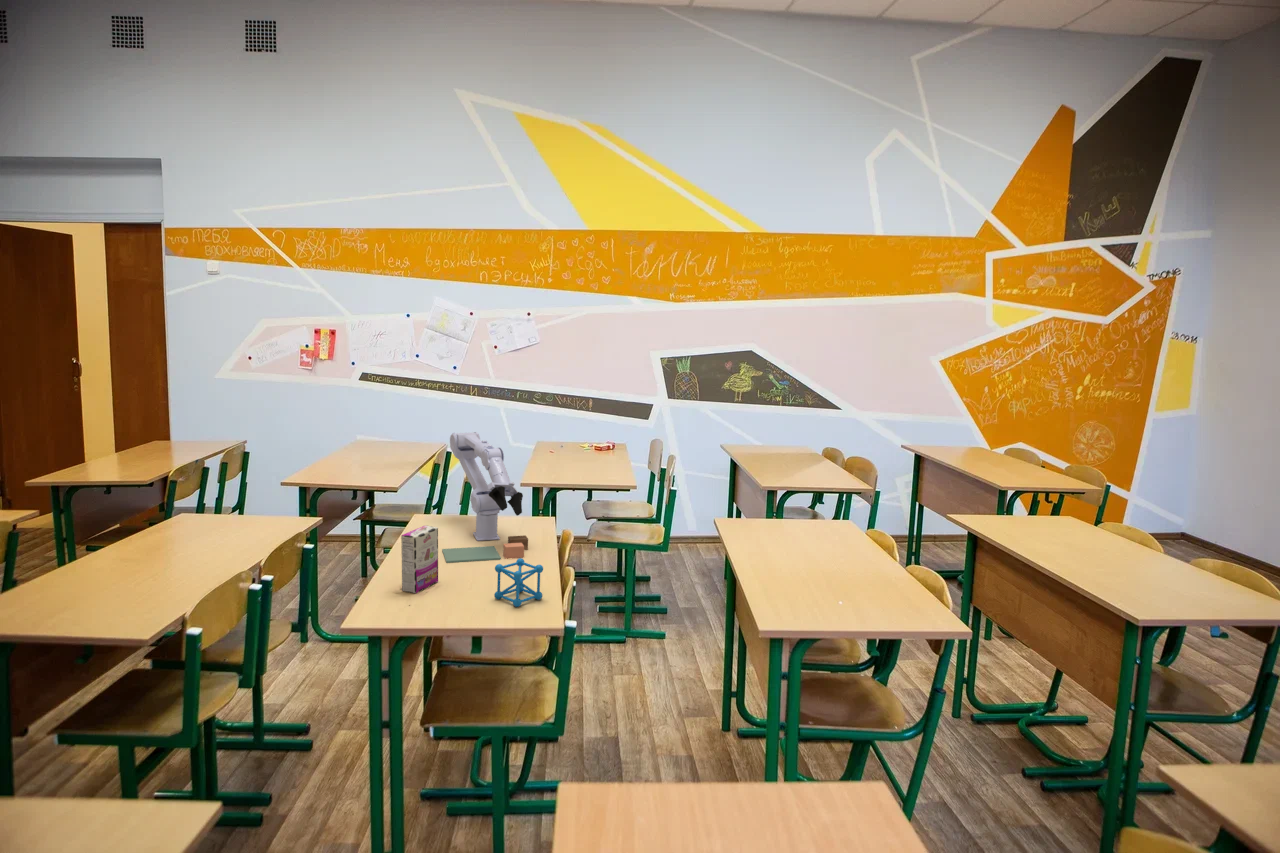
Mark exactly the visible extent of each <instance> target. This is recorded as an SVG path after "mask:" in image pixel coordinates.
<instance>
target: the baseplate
mask: <svg viewBox="0 0 1280 853" xmlns="http://www.w3.org/2000/svg"><path fill="white" fill-rule="evenodd" d="M441 551H442V554H444V555H443V557H444V560H445V562H446V563H447V564H453V563H466V562H467V563H469V562H485V561H499V560H500V559H501V560H502V557H501V555H500V553H499V552H498V550H497V548H496V547H495V545H489V546H486V545H485V546H471V547H455V548H442V549H441Z"/></svg>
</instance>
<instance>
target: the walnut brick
mask: <svg viewBox="0 0 1280 853" xmlns="http://www.w3.org/2000/svg"><path fill="white" fill-rule="evenodd" d="M507 543H522V544H523V545H524V551H528V550H529V538H528V537H527V535H509V536H507Z"/></svg>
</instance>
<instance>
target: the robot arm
mask: <svg viewBox="0 0 1280 853" xmlns="http://www.w3.org/2000/svg"><path fill="white" fill-rule="evenodd" d="M449 445H450V446H449V447H450V450H451V452H452V454H453V456H454V458H456V459H457V460H458V461H459V463H460V465H461V467H462V469H463V471H464V473H465V476H466V478H467V480H468V481H469V483H470V485H471V488H472V490H473V491H472V492H471V495H470V497H469V498H470V500H469V501H470V504H471V508H472V511H473V512H474V513H475V514H476V516H475V518H476V520H475V531H474V532H472V534H473V536H474V539H475V540H476V541H495V540H500V539H501V537H500V536H499V535H498V516H499V515H498V514H500V511H502V512H503V511H505V510H506V509H507V508H508V504H509V505H510V507H511V508H512V510H513V513H514V514H515V515H516V516H520V515H521V514H522V513H523V509H522V505H523V504H522V501H523V497H524V494H523V493H522V492H520V491H518V490H517V489H516V487H514V486H515V483H514V482H513V481H511V480H510V476H509V474H508V471H507V468H506V467H505V466H506V465H505V463H504V459H505V456H504V451H503V449H502V447H494V446H493V444H492V445H491V444H490V443H489V442H488V441H487V440H486V439H484V440H481V437H480V434H479V433H478V432H477V431H474V432H473V431H472V432H452V433H451V435H450V437H449ZM476 458H480V460H481V461H480V462H481V464H482V466H483V467H484V468H485V470H486V471H488V475H489V477H490V479H491V480H490V481H491V482H489V484H488V483H487V481H486V479H485V477H484V476H483V473H482V471H481V469H480V468H479V467H480V466H478V463H477V461H476V460H475V459H476ZM506 497H510V499H509V500H507V499H506Z"/></svg>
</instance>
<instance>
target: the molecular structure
mask: <svg viewBox="0 0 1280 853" xmlns="http://www.w3.org/2000/svg"><path fill="white" fill-rule="evenodd" d="M514 566H517V567H518V570H516V571H511V570H508V569H507V568H510V567H514ZM523 566H526V567H528V568H531V569H529V570H526V571H523V572H522V567H523ZM494 570H495V572H496V573H497V586H496V587H497V591H495V592H494V594H493V596H494V598H495V599H496V600H501V599H504V600H506V601H509V602H511V603H512V605H513V606H514V607H515V608H519V607H520V606H522V603H525V602H528V601H530V600H533V599H535V600H536V599H537V601H540V600H541V599H542V598H543V595H544V594H543V592H541V591H540V590H541V573H543V571H544V566H543V565H542V564H537V565H533V564H531V563H527V562H526V561H525V560H524V559H523V558H516V562H512V563H508V564H505V565H503V564H501V563H498V564H496V565H495V567H494ZM501 573H503V574H504V575H506V576H508V577H509V578H510V579H511V580H513V581H514V583H513V584H511V585H510V586H508V587H507V588H505V589H503V590H502V591H501ZM536 573H537V579H536V580H537V581H536V582H537V583H536V584H537V585H536V587H537V588H536V591H535V590H534V589H532V588H530V587H529V586H528V585H526V584H524V581H525V580H526V579H528V578H530V577H531V576H534V574H536ZM524 575H525V576H524ZM514 587H515V588H514ZM514 592H515V594H516V595H515V598H514V599H513V598H511V597H508V596H505V595H509V594H511V593H514ZM520 592H521V593H523V592H524V593H527V594H529V595H532V596H528V597H526V598H522V599H520Z"/></svg>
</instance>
